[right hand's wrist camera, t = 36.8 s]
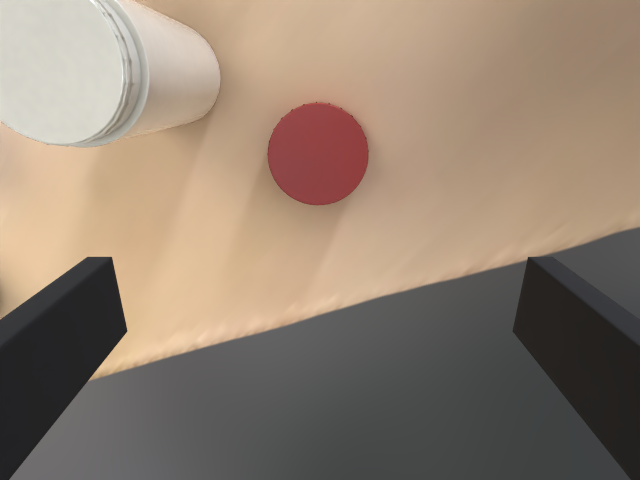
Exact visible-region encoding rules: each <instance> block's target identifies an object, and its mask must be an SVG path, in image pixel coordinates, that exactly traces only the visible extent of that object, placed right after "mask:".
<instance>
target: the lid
mask: <svg viewBox="0 0 640 480" xmlns="http://www.w3.org/2000/svg"><path fill="white" fill-rule="evenodd" d="M352 117H353V116H352V115H349V114H348V113H346V112H345V111H344V110H342V108H338V107H336V106H334V105H330V103H329V104H326V103H317V102H316V103H311V104H306V105H305V104H303V106H300V107H298V108H296V109H294V110H293V109H292V110H291V112H290V113H288V114H287V115H286V116H285V117H284V118H281V121H280V122H279V123H278V125H277V126H276V128H274V131H273V133H272V135H271V138H270V141H269V147H268V162H269V167H270V170H271V173H272V175H273V177H274V179H275V181H276V183H277V184H278V186H279V187H280V188H281V189H282V190H283V191H284V192H285V193H286V194H287V195H289V196H290V197H292V198H293V199H295V200H297V201H300V202H302V203H306V204H310V205H325V204H330V203H334V202H337V201H339V200H341V199H343V198H344V197H346V196H347V195H349V194H350V193H351V192H352V191H353V190H354V189H355V188H356V187H357V186H358V184H359V183H360V181H361V180H362V178H363V176H364V174H365V171H366V167H367V164H368V152H369V151H368V146H367V141H366V137H365V135H364V133H363V131H362V129H361V126H360V125H358V123H357V122H356V121H355V120H354V119H353V118H352Z"/></svg>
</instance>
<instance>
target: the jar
mask: <svg viewBox="0 0 640 480" xmlns="http://www.w3.org/2000/svg"><path fill="white" fill-rule="evenodd" d="M220 82H221V77H220V69H219V64H218V61H217V58H216V56H215V54H214V52H213V50H212V48H211V47H210V45H209V44H208V43H207V41H206V40H205V39H204V38H203V37H202V36H201V35H200V34H199V33H198V32H196V31H195V30H193V29H192V28H190V27H188V26H186V25H184V24H182V23H180V22H178V21H176V20H174V19H172V18H169V17H167V16H165V15H163V14H161V13H159V12H157V11H155V10H153V9H151V8H149V7H147V6H144V5H142V4H140V3H138V2H136V1H134V0H0V121H1V122H2V123H3V124H5V125H6V126H8V127H9V128H11V129H12V130H14V131H16V132H18V133H19V134H21V135H23V136H26V137H28V138H30V139H33V140H36V141H40V142H43V143H45V144H48V145H59V146H73V147H97V146H101V145H105V144H109V143H113V142H117V141H121V140H124V139H128V138H132V137H136V136H140V135H144V134H148V133H152V132H156V131H160V130H164V129H168V128H171V127H175V126H179V125H183V124H187V123H191V122H194V121H196V120H198V119H200V118H202V117H203V116H204V115H206V114H207V113H208V112H209V111H210V109H211V108H212V107H213V105H214V104H215V102H216V100H217V97H218V94H219V90H220Z"/></svg>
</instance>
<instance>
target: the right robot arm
mask: <svg viewBox="0 0 640 480" xmlns="http://www.w3.org/2000/svg"><path fill="white" fill-rule="evenodd" d="M126 332H127V327H126V322H125V318H124V313H123V308H122V303H121V298H120V294H119V289H118V284H117V279H116V275H115V270H114V265H113V260H112V257H87V258H85V259H84V260H83V261H81V262H80V263H78V264H77V265H76V266H74V267H73V268H71V269H70V270H69V271H67V272H66V273H65V274H63V275H62V276H60V277H59V278H58V279H56V280H55V281H53V282H52V283H51V284H49V285H48V286H46V287H45V288H44V289H42V290H41V291H40V292H38V293H37V294H35V295H34V296H33V297H31V298H30V299H28V300H27V301H26V302H24V303H23V304H21V305H20V306H19V307H17V308H16V309H15V310H13V311H12V312H10V313H9V314H8V315H6V316H5V317H3V318H2V319H1V320H0V480H9V479H10V478H11V477H12V475H13V474H14V473H15V471H16V470H17V469H18V468H19V466H20V465H21V464H22V463H23V461H24V460H25V459H26V458H27V456H28V455H29V454H30V453H31V451H32V450H33V449H34V448H35V446H36V445H37V444H38V443H39V441H40V440H41V439H42V438H43V436H44V435H45V434H46V433H47V431H48V430H49V429H50V428H51V426H52V425H53V424H54V423H55V421H56V420H57V419H58V418H59V416H60V415H61V414H62V413H63V411H64V410H65V409H66V407H67V406H68V405H69V404H70V402H71V401H72V400H73V399H74V398H75V396H76V395H77V394H78V392H79V391H80V390H81V389H82V387H83V386H84V385H85V384H86V382H87V381H88V380H89V379H90V377H91V376H92V375H93V374H94V372H95V371H96V370H97V369H98V367H99V366H100V365H101V364H102V362H103V361H104V360H105V359H106V357H107V356H108V355H109V354H110V352H111V351H112V350H113V349H114V347H115V346H116V345H117V344H118V342H119V341H120V340H121V339H122V337H123V336H124V335H125V334H126ZM513 332H514V334H515V335H516V336H517V337H518V339H519V340H520V341H521V342H522V344H523V345H524V346H525V347H526V349H527V350H528V351H529V352H530V354H531V355H532V356H533V357H534V359H535V360H536V361H537V362H538V364H539V365H540V366H541V367H542V369H543V370H544V371H545V372H546V374H547V375H548V376H549V377H550V379H551V380H552V381H553V382H554V384H555V385H556V386H557V387H558V389H559V390H560V391H561V392H562V394H563V395H564V396H565V398H566V399H567V400H568V401H569V402H570V404H571V405H572V406H573V408H574V409H575V410H576V411H577V413H578V414H579V415H580V416H581V418H582V419H583V420H584V421H585V423H586V424H587V425H588V426H589V428H590V429H591V430H592V431H593V433H594V434H595V435H596V436H597V438H598V439H599V440H600V441H601V443H602V444H603V445H604V446H605V448H606V449H607V450H608V451H609V453H610V454H611V455H612V456H613V458H614V459H615V460H616V461H617V463H618V464H619V465H620V466H621V468H622V469H623V470H624V471H625V473H626V474H627V475H628V476H629V478H630V479H631V480H640V320H639V319H638V318H637V317H635V316H634V315H632V314H631V313H630V312H628V311H627V310H625V309H624V308H623V307H621V306H620V305H618V304H617V303H616V302H614V301H613V300H612V299H610V298H609V297H607V296H606V295H605V294H603V293H602V292H600V291H599V290H598V289H596V288H595V287H594V286H592V285H591V284H589V283H588V282H587V281H585V280H584V279H582V278H581V277H580V276H578V275H577V274H575V273H574V272H573V271H571V270H570V269H569V268H567V267H566V266H564V265H563V264H562V263H560V262H559V261H557V260H556V259H555V258H553V257H528V260H527V265H526V270H525V275H524V279H523V284H522V289H521V294H520V299H519V303H518V308H517V313H516V318H515V322H514V327H513Z"/></svg>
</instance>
